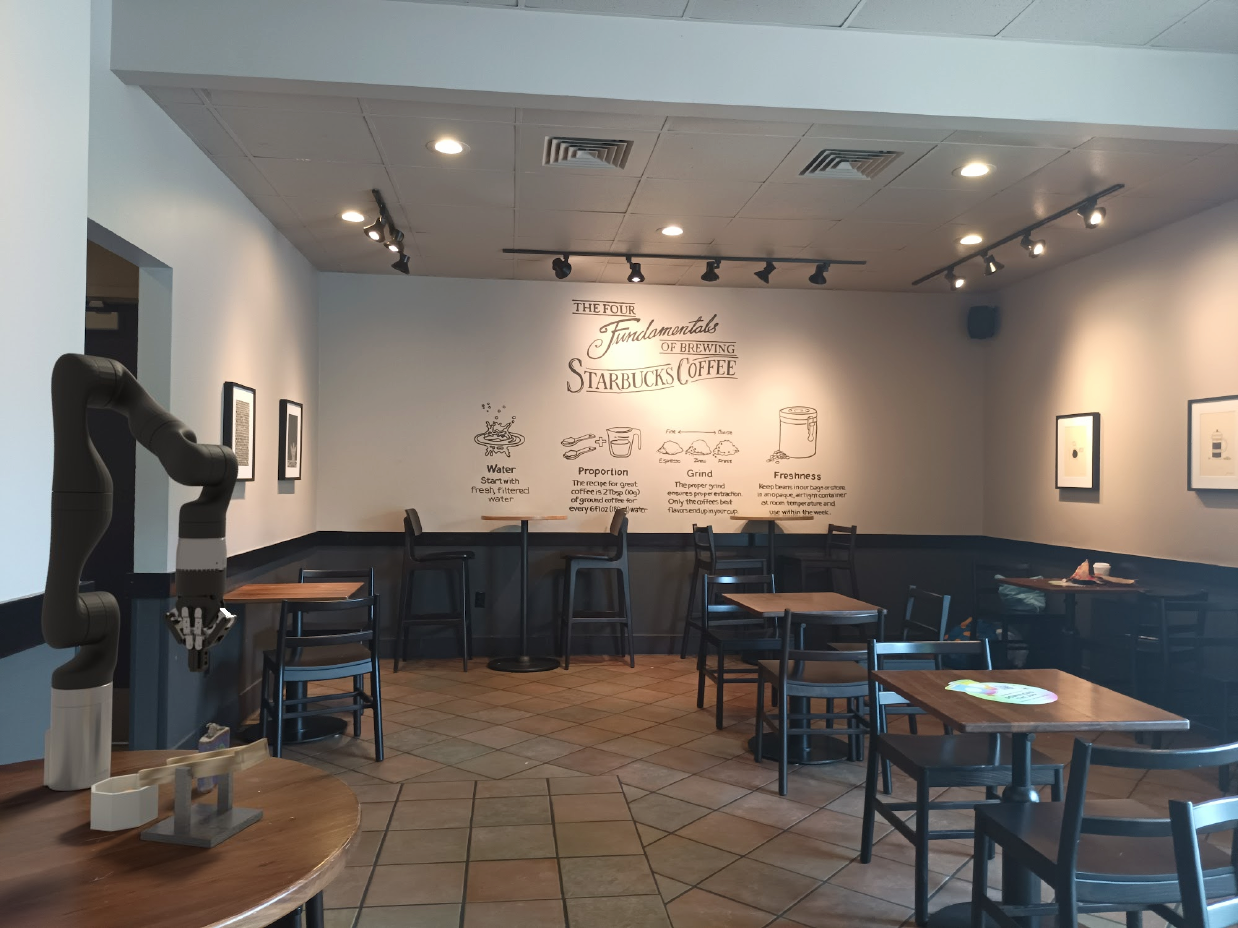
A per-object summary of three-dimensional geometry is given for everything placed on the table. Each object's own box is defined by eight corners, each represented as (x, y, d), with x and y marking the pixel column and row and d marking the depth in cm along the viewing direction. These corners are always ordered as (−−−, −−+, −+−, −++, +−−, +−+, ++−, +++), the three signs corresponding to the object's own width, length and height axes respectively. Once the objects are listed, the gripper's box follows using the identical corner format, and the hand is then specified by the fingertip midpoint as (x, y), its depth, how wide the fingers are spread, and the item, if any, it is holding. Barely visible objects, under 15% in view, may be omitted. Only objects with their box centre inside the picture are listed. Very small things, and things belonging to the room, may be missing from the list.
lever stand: (140, 839, 127) (142, 767, 128) (197, 810, 139) (199, 744, 139) (210, 847, 125) (212, 774, 125) (263, 817, 136) (264, 749, 137)
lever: (138, 788, 130) (134, 768, 131) (201, 761, 144) (198, 742, 144) (240, 772, 126) (236, 751, 127) (295, 745, 140) (292, 726, 140)
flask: (209, 793, 147) (210, 730, 147) (191, 794, 146) (192, 730, 147) (231, 776, 156) (232, 716, 156) (215, 776, 156) (216, 716, 156)
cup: (76, 827, 132) (77, 790, 132) (122, 805, 141) (123, 772, 141) (125, 832, 130) (126, 796, 130) (170, 811, 139) (170, 776, 139)
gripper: (149, 565, 139) (146, 673, 139) (220, 568, 136) (217, 679, 136) (183, 561, 146) (180, 664, 146) (251, 564, 143) (248, 669, 143)
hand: (198, 671), depth 141 cm, fingers closed
